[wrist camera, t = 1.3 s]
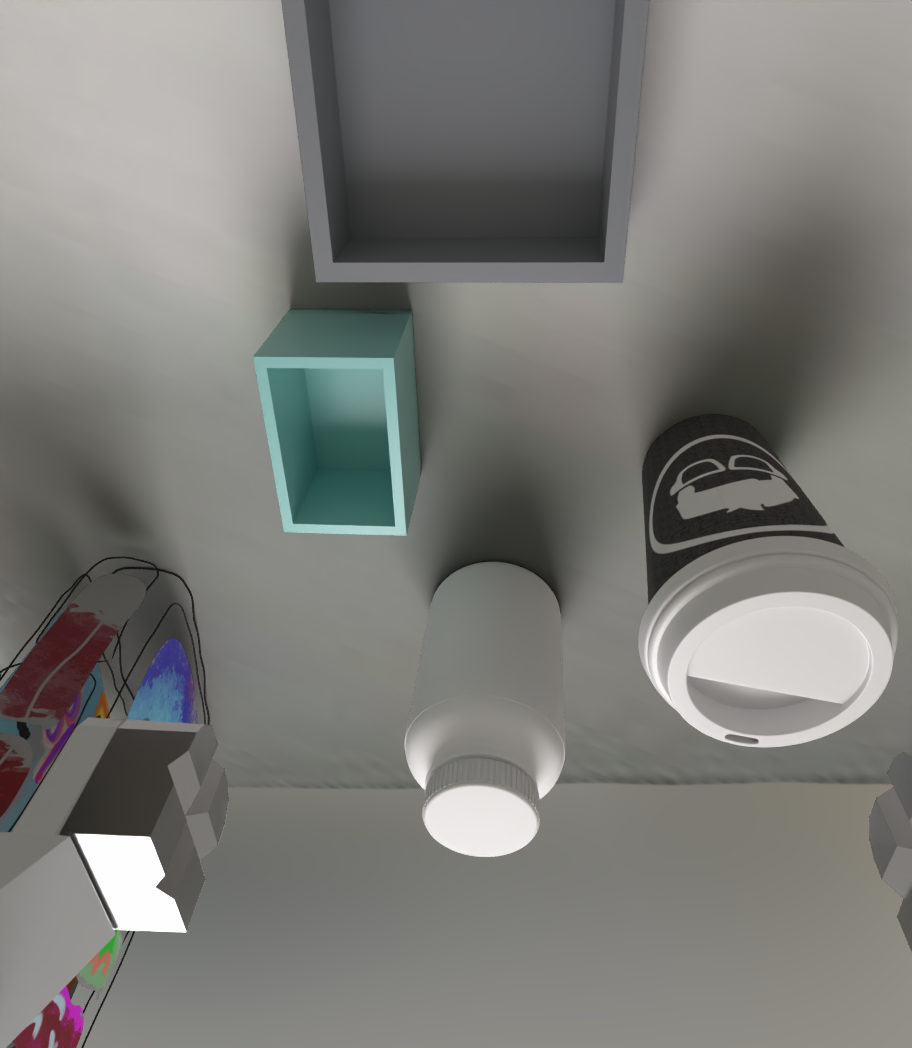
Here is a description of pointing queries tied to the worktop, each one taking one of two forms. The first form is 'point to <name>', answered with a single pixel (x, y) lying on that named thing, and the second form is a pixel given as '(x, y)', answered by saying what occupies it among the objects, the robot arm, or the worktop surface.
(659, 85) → the worktop surface
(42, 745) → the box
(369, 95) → the large crate
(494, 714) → the pill bottle
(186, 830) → the robot arm
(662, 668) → the coffee cup
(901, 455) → the worktop surface
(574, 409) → the worktop surface
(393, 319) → the small crate
